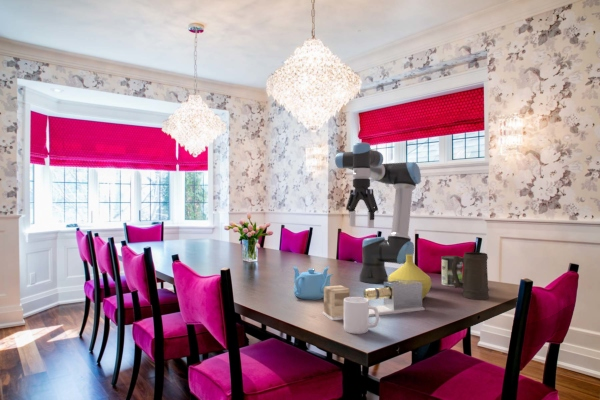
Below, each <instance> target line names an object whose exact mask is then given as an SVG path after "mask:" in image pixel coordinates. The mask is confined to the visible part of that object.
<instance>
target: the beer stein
mask: <svg viewBox="0 0 600 400" xmlns="http://www.w3.org/2000/svg"><path fill="white" fill-rule="evenodd" d="M453 256H454V261H453V263H452V274H453V277H454V279H455V284H454V286H453V287H454V289H457V288H460V289H462V290H463V291H462V296H463V297H464V298H466V299H471V300H484V301H485V300H487V299H489V298H490V296H489V282H488V281H489V280H488V279H489V277H488V275H489V274H488V259H489V257H488V253H485V252H478V251H467V252H464V254H463V257H462V258H461V256H458V255H453ZM458 262H462V265H463V269H462V283H460V281H459V278H458V275H457V270H456V267H457V263H458Z"/></svg>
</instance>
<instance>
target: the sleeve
mask: <svg viewBox="0 0 600 400" xmlns="http://www.w3.org/2000/svg"><path fill="white" fill-rule="evenodd" d="M385 287H391V288H392V297H391V298H383V305H384V306H385V307H387V308H389V309H391V310H393V311H394V310H403V309H412V308H422V307H423V299H422V283H421V282H418V281H414V280H400V281H387V282H384V283H383V288H385Z"/></svg>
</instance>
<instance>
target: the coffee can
mask: <svg viewBox="0 0 600 400" xmlns="http://www.w3.org/2000/svg"><path fill="white" fill-rule="evenodd" d="M454 256H455V255H443V256H441V285H442V286H447V287H454V284H455V279H454V277H453V274H452V263H453V261H454ZM460 257H461V256H460ZM461 258H463V257H461ZM456 270H457V275H458V278H459V281H460V283H463V263H462V262H458V263H457V267H456Z"/></svg>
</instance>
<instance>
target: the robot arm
mask: <svg viewBox="0 0 600 400" xmlns="http://www.w3.org/2000/svg"><path fill="white" fill-rule="evenodd" d="M383 162H384V156H383V154H382V153H381V152H380V151H378V150H374V149H371V144H370V143H368V142H355V143H354V144H353V147H352V151H346V152H345V151H342V152H339V153H337V154H336V155H335V158H334V163H335V166H336V167H337V168H338V169H348V170H352V178H353V179H352V187H353V188H354V189H350V190H349V192H350V193H349V197H348V200H347V203H346V207H345V208H346V209H345V210H346V211H348V216H349V217H348V218H349V223H348V226H349V227H355V226H356V208H357V206H358V204H359V202H360V201H361V200H362V201H363V202H364V205H365V206H366V208H367V210H368V211H367V229H374V228H375V213H376V212H378V211H379V208H378V204H377V201H376V197H375V194H374V189H373V188H370V187H371V180H373V181H376V182H378V183H382V184H385V185H392V186H393V188H394V189H395V195H394V203H393V204H394V205H393V214H392V222H391V223H392V224H391V233H390V234H388V235H387V239H386V238H385V237H384V236H377V237H368V238H364V239H363V240H362V248H361V249H362V267H361V269H360V273H359V277H358V278H359V279H358V280H359V282H363V283H369V284H384V282H388V278H389V275H388V273H387V270H386V267H385V263H388V264H397V265H404V263H405V262H406V255H413V256H414V252H415V244H414V243H413V242H412V241H411V240H412V239H411V237H410V236H409V232H410V230H409V229H410V221H411V220H410V217H411V209H412V200H413V199H412V198H413V197H412V196H413V191H414V190H415V189H416V188H417V187H416V186H417V185H419V184H420V183H421V179H422V178H421V177H422V176H421V169H420V168H419V164H417V163H416V162H414V161H413V162H412V161H411V162H410V161H407V162H394V163H392V162H390V163H383Z"/></svg>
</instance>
